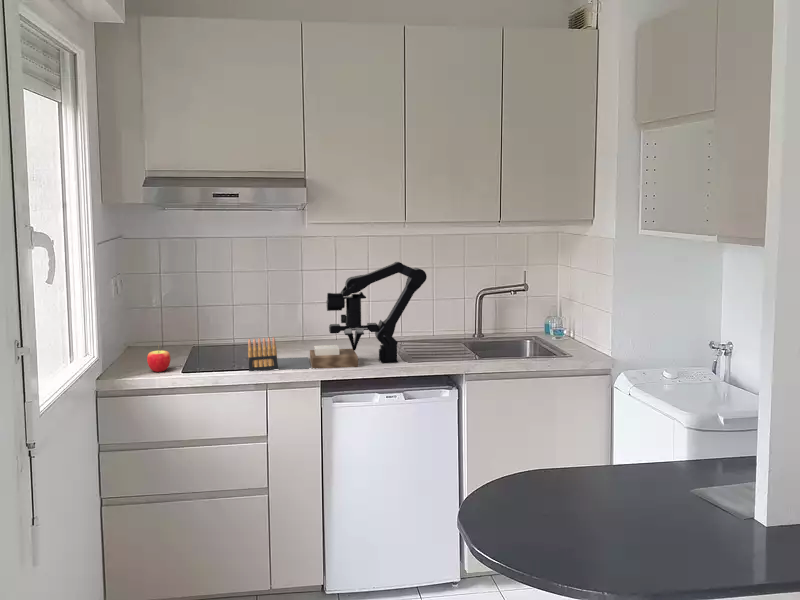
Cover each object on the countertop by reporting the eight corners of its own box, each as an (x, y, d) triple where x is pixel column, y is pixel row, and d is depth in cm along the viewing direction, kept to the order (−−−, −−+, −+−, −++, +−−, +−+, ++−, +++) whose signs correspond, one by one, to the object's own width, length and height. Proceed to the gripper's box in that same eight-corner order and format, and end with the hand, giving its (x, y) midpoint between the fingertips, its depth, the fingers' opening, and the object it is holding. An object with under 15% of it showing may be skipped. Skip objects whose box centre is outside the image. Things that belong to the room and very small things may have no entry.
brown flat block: (353, 358, 323) (352, 348, 323) (357, 366, 308) (357, 356, 307) (310, 360, 320) (309, 350, 320) (312, 368, 305) (312, 358, 304)
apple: (172, 368, 306) (171, 342, 305) (169, 373, 298) (168, 346, 296) (149, 369, 305) (148, 342, 304) (146, 374, 297) (144, 347, 295)
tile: (337, 351, 317) (337, 345, 317) (339, 354, 310) (339, 348, 310) (314, 352, 316) (314, 345, 315) (315, 355, 309) (315, 349, 309)
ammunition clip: (278, 367, 304) (275, 336, 303) (278, 368, 303) (275, 336, 301) (249, 370, 303) (246, 338, 301) (248, 371, 301) (246, 339, 299)
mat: (308, 358, 324) (308, 357, 324) (311, 368, 305) (311, 367, 305) (272, 359, 322) (272, 358, 322) (273, 370, 302) (273, 369, 302)
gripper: (374, 306, 322) (375, 345, 324) (327, 307, 319) (328, 347, 321) (378, 310, 311) (379, 350, 313) (330, 311, 308) (330, 352, 310)
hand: (354, 350), depth 315 cm, fingers closed
